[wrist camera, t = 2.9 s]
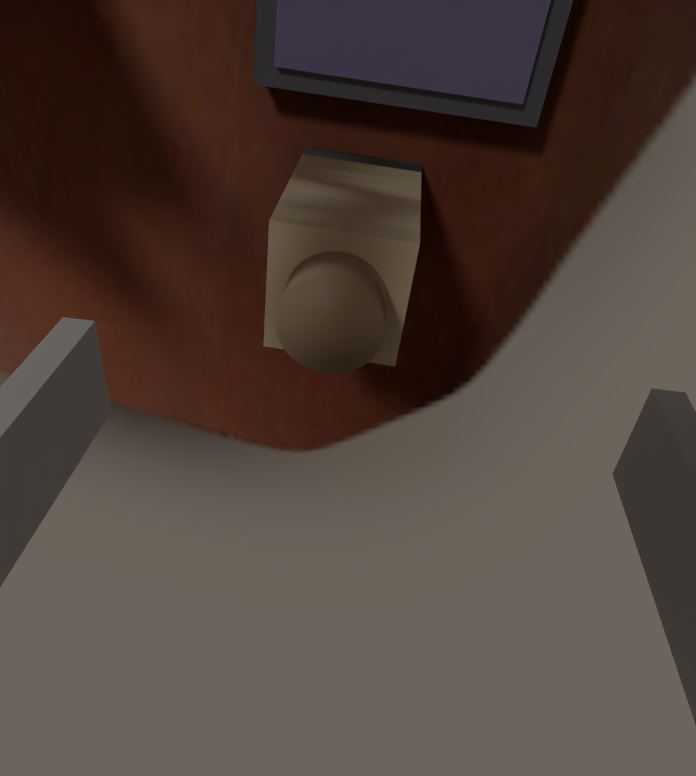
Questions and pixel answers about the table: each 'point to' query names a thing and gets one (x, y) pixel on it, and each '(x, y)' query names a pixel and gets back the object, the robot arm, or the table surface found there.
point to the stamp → (342, 260)
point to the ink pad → (415, 53)
